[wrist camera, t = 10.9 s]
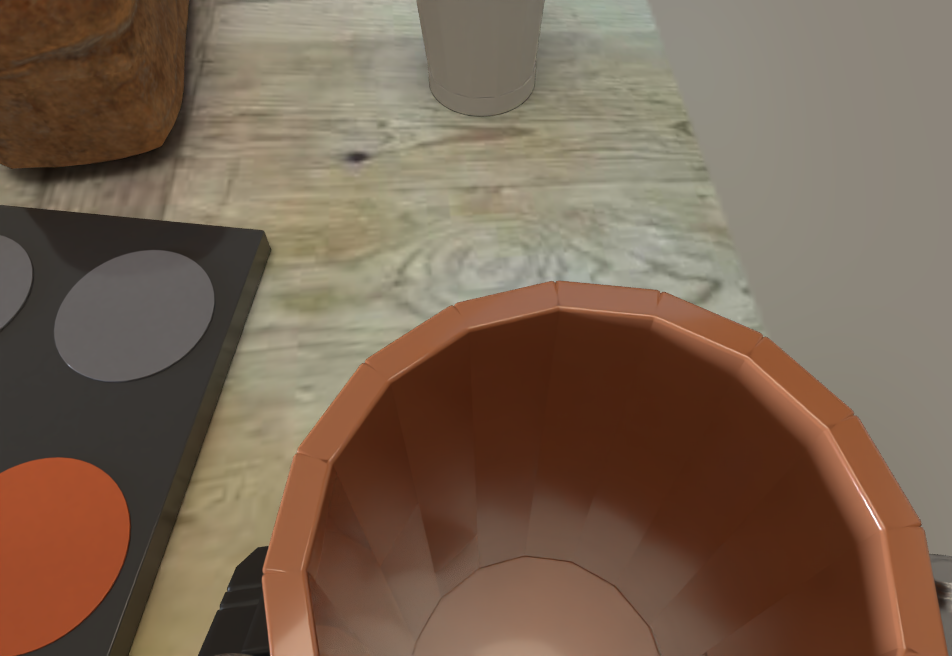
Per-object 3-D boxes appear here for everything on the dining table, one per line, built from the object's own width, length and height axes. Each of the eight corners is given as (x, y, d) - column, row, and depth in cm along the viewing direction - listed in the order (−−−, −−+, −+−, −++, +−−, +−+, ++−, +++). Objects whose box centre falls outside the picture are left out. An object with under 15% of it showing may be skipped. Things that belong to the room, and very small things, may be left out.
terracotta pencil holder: (680, 565, 16) (884, 309, 8) (685, 894, 13) (1027, 1052, 5) (417, 532, 17) (346, 258, 8) (364, 843, 14) (168, 905, 5)
